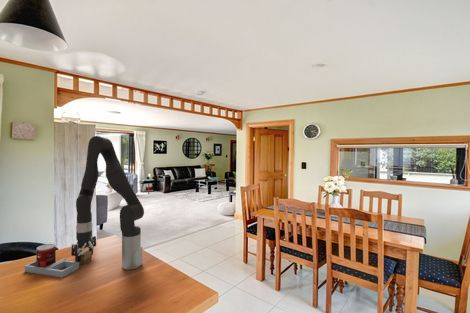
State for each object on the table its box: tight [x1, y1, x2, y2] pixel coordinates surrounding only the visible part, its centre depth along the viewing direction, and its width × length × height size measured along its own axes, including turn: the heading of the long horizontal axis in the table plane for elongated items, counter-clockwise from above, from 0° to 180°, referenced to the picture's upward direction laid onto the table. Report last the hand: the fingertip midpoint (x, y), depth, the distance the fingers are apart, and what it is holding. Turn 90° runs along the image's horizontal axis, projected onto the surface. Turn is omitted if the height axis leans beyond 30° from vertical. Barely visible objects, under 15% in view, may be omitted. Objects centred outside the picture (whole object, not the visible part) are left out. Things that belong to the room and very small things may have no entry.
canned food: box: [35, 243, 57, 268], centre depth 127 cm, size 8×8×11 cm
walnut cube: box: [79, 250, 93, 265], centre depth 134 cm, size 5×5×5 cm
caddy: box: [24, 257, 80, 278], centre depth 125 cm, size 23×12×3 cm, turn 78°
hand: (84, 258), depth 134 cm, fingers open, 8 cm apart
